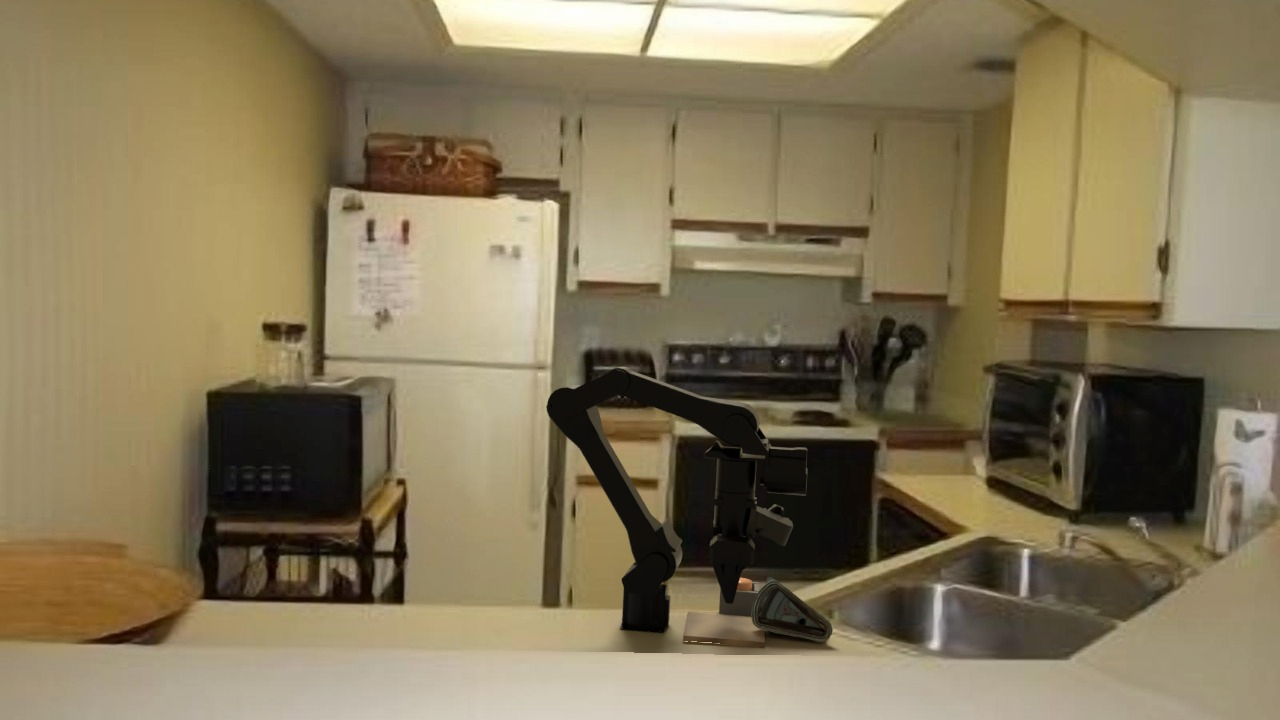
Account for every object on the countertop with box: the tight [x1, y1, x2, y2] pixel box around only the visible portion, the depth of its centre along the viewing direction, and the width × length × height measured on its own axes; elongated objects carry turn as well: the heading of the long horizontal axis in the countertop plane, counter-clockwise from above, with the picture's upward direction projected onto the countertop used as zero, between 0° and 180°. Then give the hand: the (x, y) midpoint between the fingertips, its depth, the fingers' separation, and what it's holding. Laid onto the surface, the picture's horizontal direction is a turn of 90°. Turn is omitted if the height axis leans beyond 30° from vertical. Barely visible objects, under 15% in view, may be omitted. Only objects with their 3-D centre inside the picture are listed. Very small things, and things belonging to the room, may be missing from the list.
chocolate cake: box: [751, 576, 834, 643], centre depth 144 cm, size 10×7×12 cm
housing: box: [718, 581, 760, 617], centre depth 154 cm, size 6×6×4 cm
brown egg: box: [737, 577, 753, 591], centre depth 154 cm, size 4×4×4 cm
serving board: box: [682, 611, 766, 648], centre depth 143 cm, size 12×11×1 cm
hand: (729, 595), depth 143 cm, fingers open, 7 cm apart
